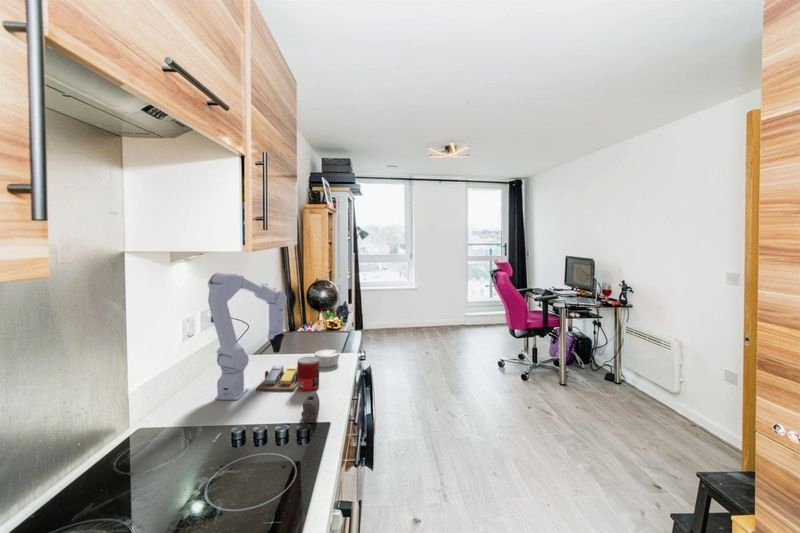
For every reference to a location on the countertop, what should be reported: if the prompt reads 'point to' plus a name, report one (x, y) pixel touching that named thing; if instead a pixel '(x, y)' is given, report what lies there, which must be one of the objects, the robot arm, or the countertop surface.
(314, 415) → the perforated stone tool
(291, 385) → the walnut board
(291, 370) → the yellow rectangular block
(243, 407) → the countertop surface
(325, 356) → the ramekin
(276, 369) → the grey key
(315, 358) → the canned food
